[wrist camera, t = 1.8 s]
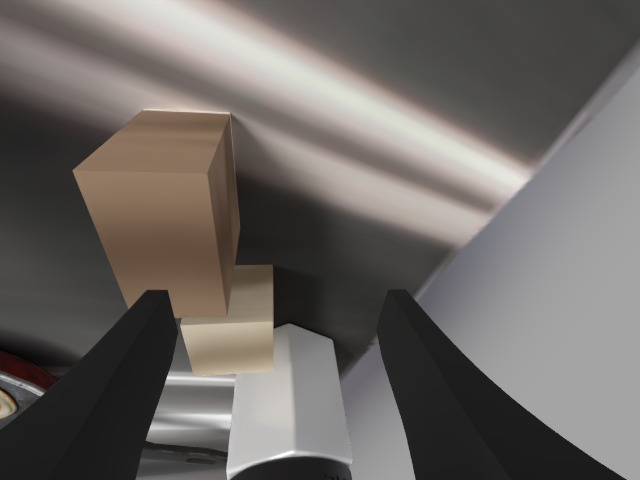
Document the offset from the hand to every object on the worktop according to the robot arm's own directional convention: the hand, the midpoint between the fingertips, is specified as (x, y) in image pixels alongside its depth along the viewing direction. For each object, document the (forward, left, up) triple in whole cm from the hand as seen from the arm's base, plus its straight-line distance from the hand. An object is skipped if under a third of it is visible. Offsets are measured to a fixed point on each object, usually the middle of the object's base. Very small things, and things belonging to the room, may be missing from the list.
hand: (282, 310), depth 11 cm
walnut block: (0, -4, -10) cm, 11 cm away
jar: (+17, +1, -10) cm, 19 cm away
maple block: (+9, -3, -10) cm, 13 cm away
